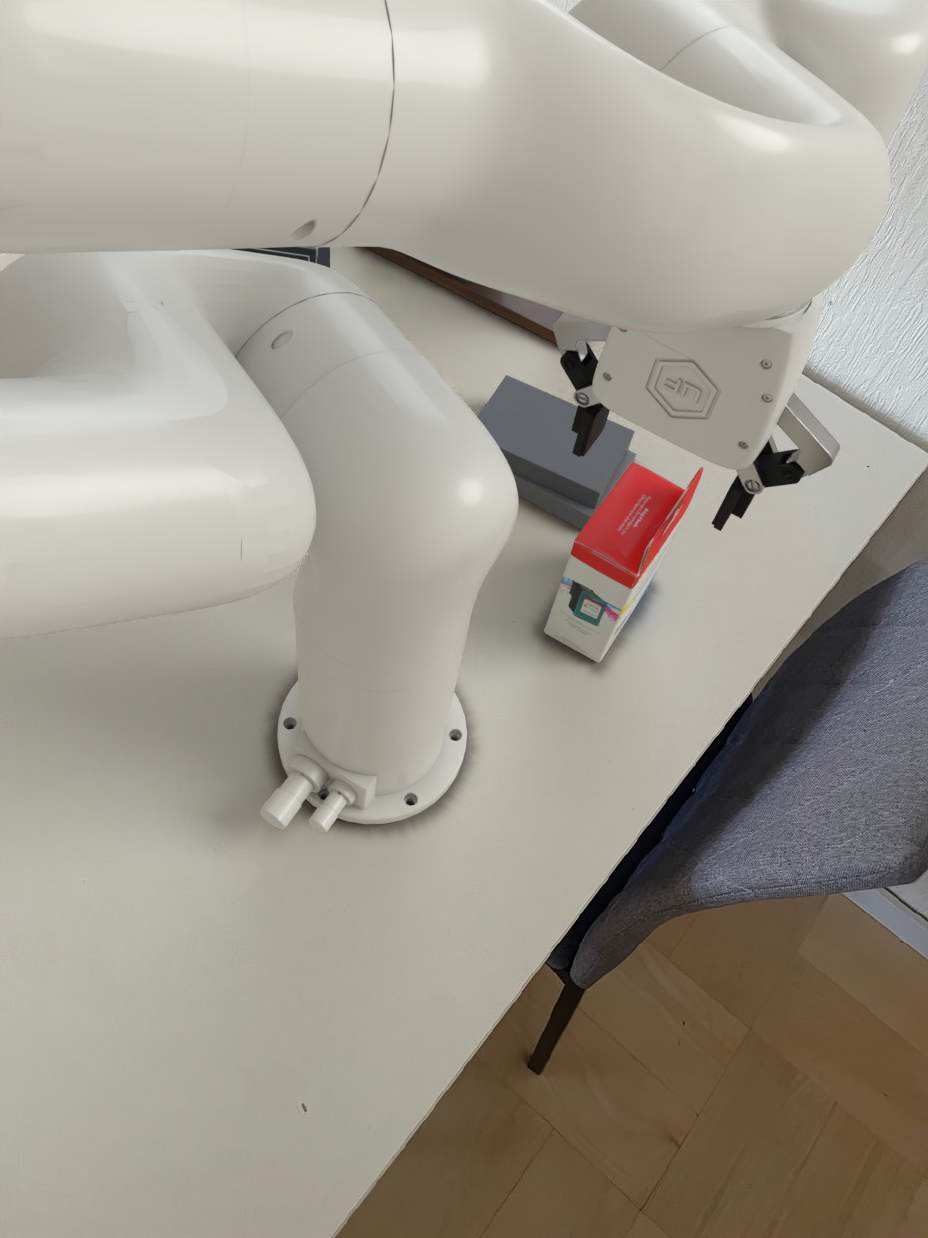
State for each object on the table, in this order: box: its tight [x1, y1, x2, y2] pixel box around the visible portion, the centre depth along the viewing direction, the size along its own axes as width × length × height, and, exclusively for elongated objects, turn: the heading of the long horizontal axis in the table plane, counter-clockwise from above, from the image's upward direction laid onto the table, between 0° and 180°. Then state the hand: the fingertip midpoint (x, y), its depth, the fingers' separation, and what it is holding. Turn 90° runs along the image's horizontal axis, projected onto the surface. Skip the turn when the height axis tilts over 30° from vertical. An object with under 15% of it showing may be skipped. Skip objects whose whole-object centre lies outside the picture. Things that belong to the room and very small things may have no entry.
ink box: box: [543, 461, 704, 664], centre depth 70 cm, size 8×5×15 cm, turn 148°
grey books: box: [477, 374, 637, 531], centre depth 82 cm, size 8×12×4 cm
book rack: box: [365, 247, 563, 345], centre depth 91 cm, size 10×23×11 cm, turn 59°
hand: (655, 477), depth 64 cm, fingers open, 9 cm apart
